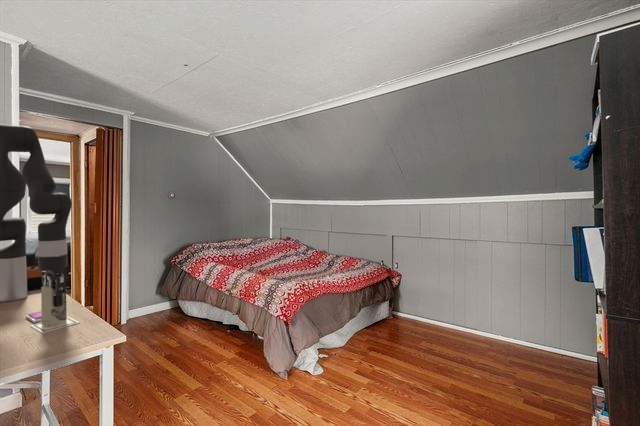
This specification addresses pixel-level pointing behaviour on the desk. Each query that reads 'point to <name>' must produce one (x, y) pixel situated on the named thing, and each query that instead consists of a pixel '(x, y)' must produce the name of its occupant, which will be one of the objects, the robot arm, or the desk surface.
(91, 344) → the desk surface
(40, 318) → the ink pad
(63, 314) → the box
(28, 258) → the deodorant
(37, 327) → the paper
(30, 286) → the battery
